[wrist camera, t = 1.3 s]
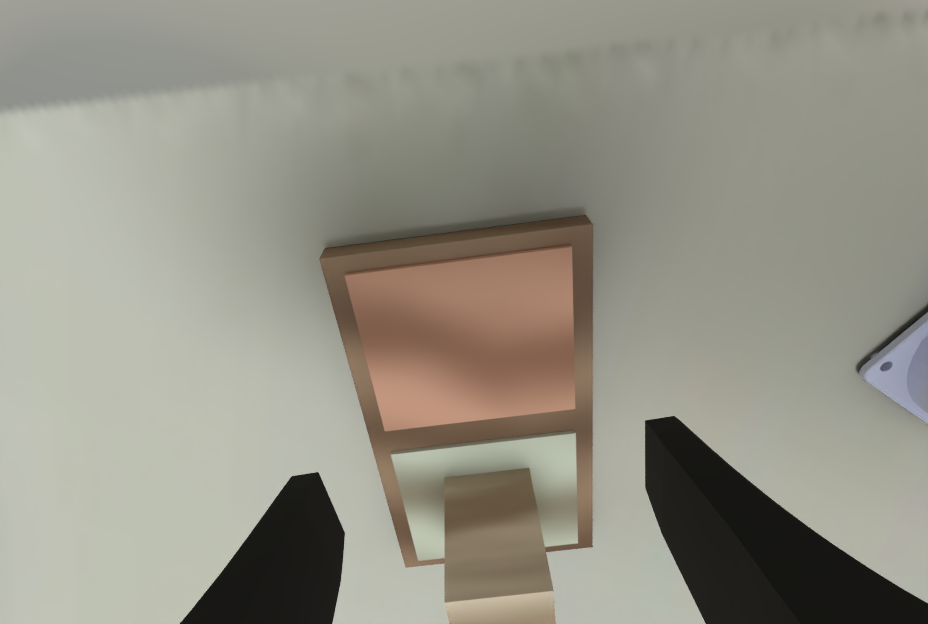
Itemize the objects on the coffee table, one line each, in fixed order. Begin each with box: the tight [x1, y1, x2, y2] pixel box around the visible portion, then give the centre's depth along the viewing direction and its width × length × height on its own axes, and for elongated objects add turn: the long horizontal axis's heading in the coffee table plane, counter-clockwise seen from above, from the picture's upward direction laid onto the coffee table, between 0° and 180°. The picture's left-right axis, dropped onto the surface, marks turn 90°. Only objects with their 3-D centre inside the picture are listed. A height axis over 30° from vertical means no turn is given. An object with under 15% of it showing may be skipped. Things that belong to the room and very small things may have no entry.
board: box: [320, 215, 593, 567], centre depth 23 cm, size 18×10×1 cm, turn 7°
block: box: [444, 468, 555, 624], centre depth 22 cm, size 4×4×6 cm
